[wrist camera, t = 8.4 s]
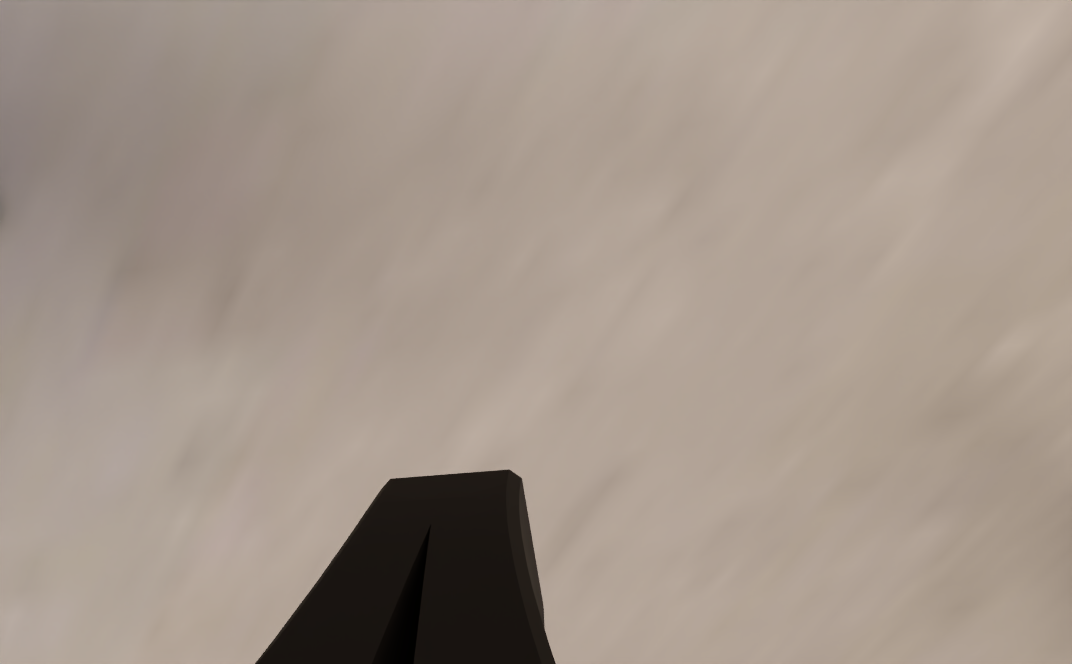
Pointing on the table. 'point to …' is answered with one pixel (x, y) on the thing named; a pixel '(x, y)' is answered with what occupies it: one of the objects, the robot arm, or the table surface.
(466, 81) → the table surface
